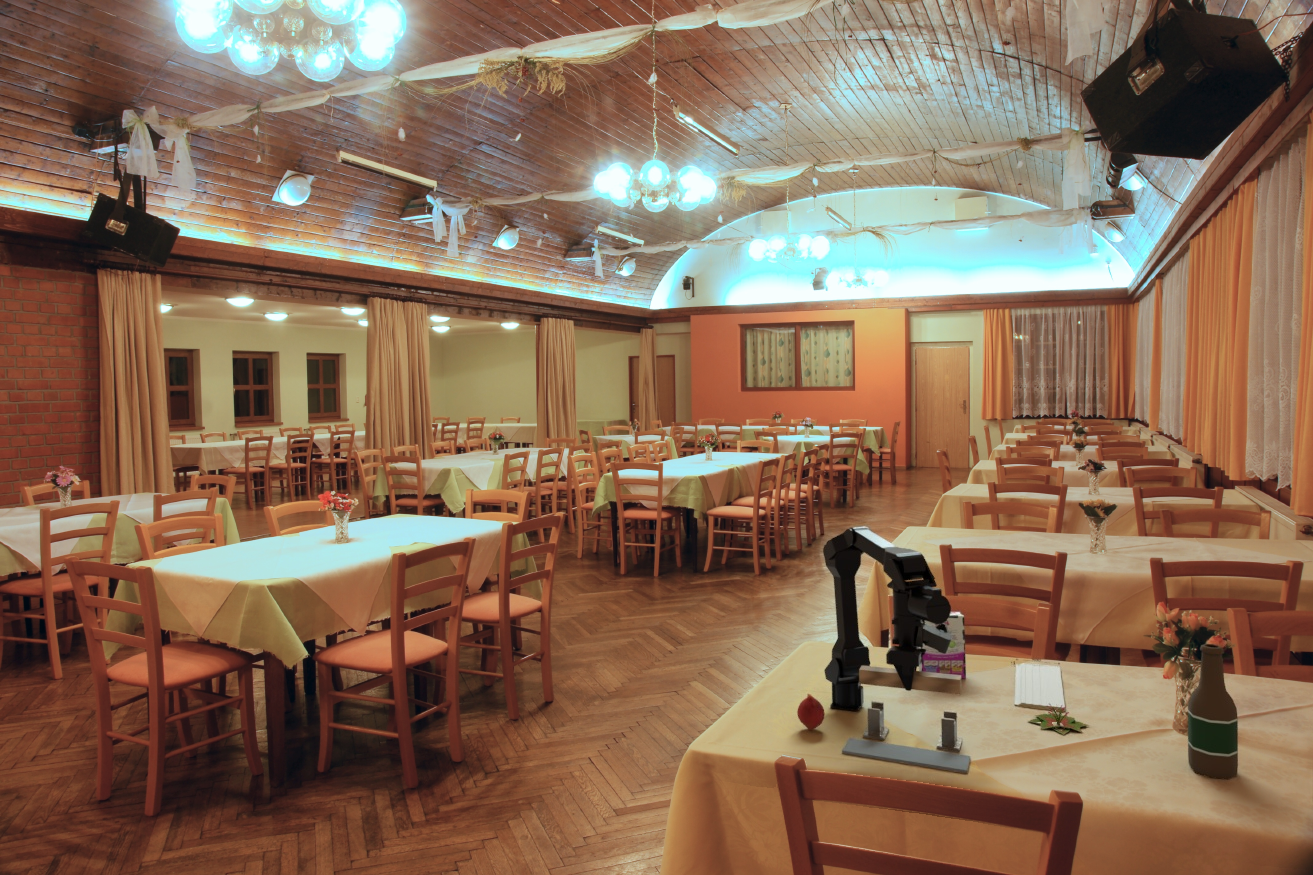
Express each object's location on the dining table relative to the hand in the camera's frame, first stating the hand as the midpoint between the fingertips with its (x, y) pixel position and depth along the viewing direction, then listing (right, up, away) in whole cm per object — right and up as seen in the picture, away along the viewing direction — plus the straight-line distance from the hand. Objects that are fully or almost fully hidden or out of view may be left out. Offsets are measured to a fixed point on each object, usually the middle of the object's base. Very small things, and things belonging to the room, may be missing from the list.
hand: (909, 687), depth 166 cm
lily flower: (+36, -12, +10) cm, 39 cm away
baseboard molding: (+42, -11, +33) cm, 55 cm away
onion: (-18, -13, +11) cm, 25 cm away
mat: (-2, -13, -4) cm, 13 cm away
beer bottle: (+53, -12, -14) cm, 56 cm away
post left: (-5, -12, +7) cm, 15 cm away
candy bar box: (+22, -11, +43) cm, 50 cm away
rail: (0, 0, 0) cm, 0 cm away
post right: (+9, -12, +1) cm, 15 cm away
